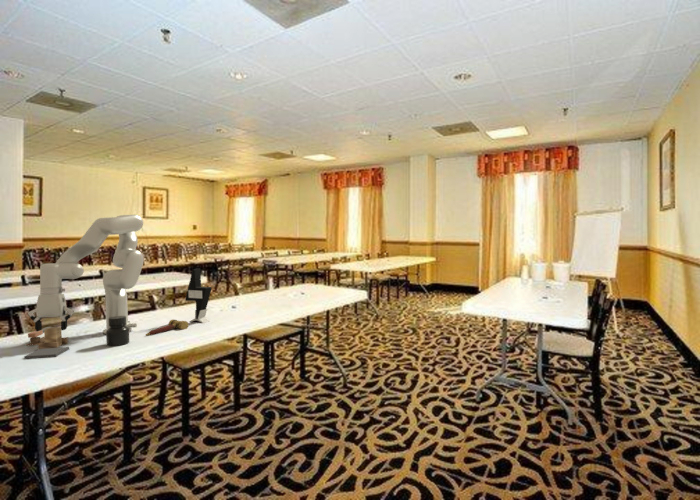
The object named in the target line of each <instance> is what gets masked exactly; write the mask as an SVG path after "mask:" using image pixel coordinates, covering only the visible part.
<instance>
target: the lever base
mask: <svg viewBox="0 0 700 500" xmlns="http://www.w3.org/2000/svg"><path fill="white" fill-rule="evenodd" d="M39 343H45V336H42V337H41V336H37V337H31V338H29V342H28V343H26V344H25V345H26V347H27V346H38V344H39Z"/></svg>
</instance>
